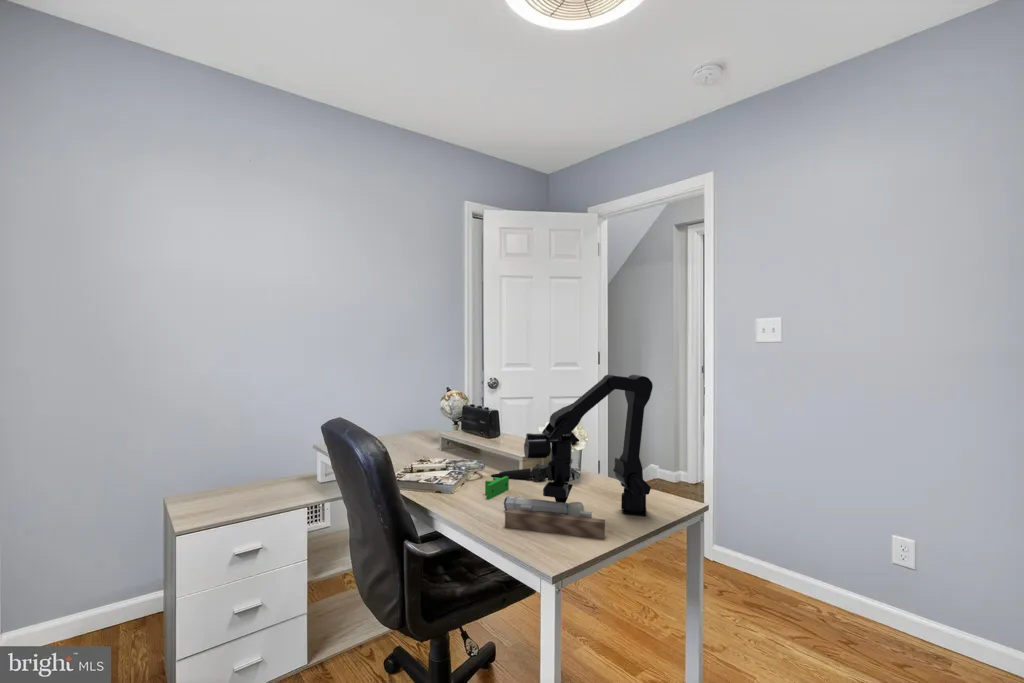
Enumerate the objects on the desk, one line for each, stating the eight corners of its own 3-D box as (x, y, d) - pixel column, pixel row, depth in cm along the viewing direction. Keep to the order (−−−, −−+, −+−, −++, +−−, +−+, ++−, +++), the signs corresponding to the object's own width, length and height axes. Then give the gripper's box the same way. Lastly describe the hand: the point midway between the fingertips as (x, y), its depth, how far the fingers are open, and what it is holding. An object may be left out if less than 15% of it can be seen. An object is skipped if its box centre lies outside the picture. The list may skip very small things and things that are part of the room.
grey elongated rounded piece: (511, 493, 144) (589, 497, 131) (513, 516, 143) (592, 522, 130) (501, 498, 139) (581, 503, 126) (504, 522, 139) (584, 529, 126)
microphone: (491, 487, 172) (546, 484, 168) (488, 473, 170) (544, 469, 166) (494, 478, 177) (548, 474, 173) (491, 464, 175) (545, 460, 171)
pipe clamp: (499, 488, 161) (499, 474, 161) (508, 490, 159) (508, 476, 159) (479, 497, 152) (479, 483, 152) (489, 499, 150) (489, 485, 150)
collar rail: (605, 532, 125) (605, 513, 125) (604, 538, 122) (604, 519, 121) (509, 521, 132) (509, 503, 132) (504, 526, 128) (505, 508, 128)
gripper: (540, 446, 147) (539, 496, 148) (525, 463, 129) (524, 520, 130) (577, 449, 144) (575, 501, 145) (566, 467, 126) (565, 526, 127)
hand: (560, 511), depth 137 cm, fingers closed
